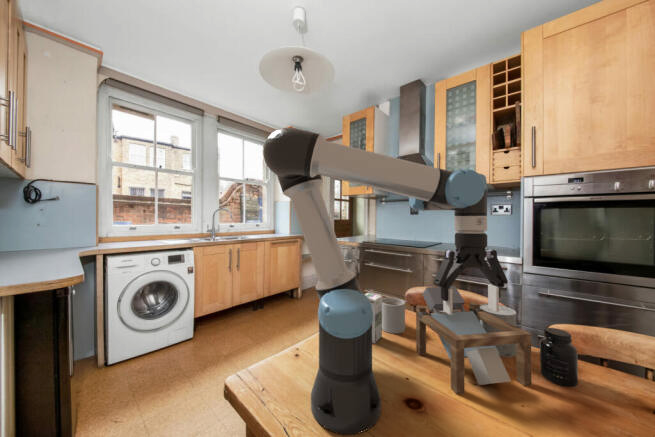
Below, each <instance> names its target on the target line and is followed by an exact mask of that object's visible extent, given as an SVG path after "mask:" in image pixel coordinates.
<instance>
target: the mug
mask: <svg viewBox="0 0 655 437" xmlns="http://www.w3.org/2000/svg"><path fill="white" fill-rule="evenodd" d="M382 331H384V332H386V333H389V334H396V335H397V334H402V333H404V332H405V331H406V301H404V300H403V299H400V298H399V297H398V298H397V297H384V298H383V297H382Z"/></svg>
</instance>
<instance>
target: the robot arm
mask: <svg viewBox="0 0 655 437" xmlns="http://www.w3.org/2000/svg"><path fill="white" fill-rule="evenodd" d="M262 153H263V159H264V162H265V164H266V166H267V167H268V169H269V170H270V171H271V172H272V173H274V175H276V177H277V179H278V183H279V185H280V188H281V189H280V190H281V191H282V195H283V196H285V197H287V198H289V199H290V201H291V203H292V206H293V209H294V212H295V215H296V218H297V221H298V224H299V227H300V230H301V233H302V236H303V239H304V242H305V244H306V247H307V250H308V253H309V256H310V259H311V262H312V265H313V268H314V270H315V273H316V276H317V282H316V284H315V290H316V291H315V292H316V293H317V297H318V299H319V303H318V304H319V305H318V308H317V317H318V369H317V372H316V376H315V379H314V382H313V385H312V389H311V393H310V394H311V395H310V409H311V413H312V415H313V417H314V419H315V420H316V421H317V423H318V424H319V425H321V426H322V425H323V426H325V427H326V428H328V429H330V430H332V431H331V432H333V431H335V432H334V433H336V432H337V433H336V434H340V433H341V434H340V435H356V434H355V433H357V434H360V433H359V432H361V431H364V430H366V429H368V428H370V427H371V426H372V427H373V426H375V424H377V422H378V420H380V419H379V418H380V416H381V412H382V410H381V409H382V406H381V405H382V401H381V393H380V390H379V388H378V384H377V381H376V377H375V374H374V372H373V343H372V321H373V311H372V305H371V302H370V300H369V298H368V297H367V296H366V295H365V293H363V291H362V290H361V287H360V285H359V282H358V279H357V276H356V274H355V272H354V271H352V270H349V269H348V266H347V263H346V261H345V258H344V255H343V253H342V249H341V246H340V244H339V240H338V238H337V235H336V232H335V229H334V226H333V224H332V221H331V218H330V214H329V212H328V208H327V206H326V203H325V200H324V197H323V194H322V191H321V186H322V184H323V178H322V177H327V178H331V179H335V180H340V181H344V182H347V183H351V184H356V185H358V186H359V185H360V186H364V187H368V188H372V189H376V190H378V191H384V192H388V193H392V194H396V195H400V196H405V197H408V201H409V202H408V203H409V206H410V207H411V209H412V210H414V211H423V212H424V211H454V231H456V232H455V233H454V246H455V251H454V250H448V249H445V251H444V255H443V260H442V261H441V265H440V266H439V268H438V271H437V273H436V276H435V277H434V280H433V284H434V285H435V286H436V287H441V299H442V300H443V313H448V314H449V315H453V312H454V310H453V304H452V289H450V286H453V284H454V283H455V281H456V280H457V278H458V277H459V276H460V274H461V273H462V272H463V270H465V269H466V268H478V269H479V270H480V271H481V273H482V274H483V275H484V276H485V278H486V279H487V281H488V282H489V283H490V284H488V285H487V300H488V301H487V302H488V303H487V304H488V308H489V309H492V310H494V311H496V312H499V305H500V298H501V296H502V295H501V288H505V285H507V284H508V283H509V280H508V279H507V276H506V274H505V272H504V269H503V268H502V265H501V263H500V261H499V258H498V252H497V250H496V249H488V248H487V247H488V234H487V233H486V232H487V231H488V182H487V176H486V175H485V174H483V173H479V172H477V171H475V170H473V169H467V168H465V169H458V170H455V171H452V170H447V169H443V168H438V167H434V166H431V165H425V164H422V163H418V162H413V161H410V160H406V159H402V158H398V157H394V156H389V155H385V154H381V153H377V152H374V151H370V150H365V149H361V148H357V147H353V146H349V145H345V144H341V143H338V142H337V143H336V142H332V141H329V140H326V138H325V137H324V135H323V134H321V133H316V132H313V131H309V130H304V129H301V128H294V127H283V128H280V129H277V130H275V131H273V132H272V133H271V134H269V136H268V137H267V139H266V140H265V142H264V145H263V151H262ZM486 248H487V249H486ZM486 260H487V261H486ZM323 426H322V427H323ZM325 427H324V428H325ZM372 427H371V428H372ZM326 428H325V429H326ZM371 428H370V429H371ZM328 429H327V430H328ZM330 430H329V431H330ZM368 430H369V429H368ZM366 431H367V430H366ZM364 432H365V431H364ZM361 433H362V432H361Z"/></svg>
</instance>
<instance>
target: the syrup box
mask: <svg viewBox="0 0 655 437" xmlns="http://www.w3.org/2000/svg"><path fill="white" fill-rule="evenodd" d="M364 295H366V296H367V297H368V298H369V300H370V302H371V305H372V311H373V321H372V344H377V342H378V341H379V340H380V339H381V338H382V336H383V334H382V332H383V330H382V299H383V296H382V295H380V294H377V293H373V292H372V293H371V292H367V293H364Z"/></svg>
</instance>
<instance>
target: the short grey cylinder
mask: <svg viewBox="0 0 655 437" xmlns="http://www.w3.org/2000/svg"><path fill="white" fill-rule="evenodd" d="M480 308H481V309H483V311H484V312H486V313H488V314H490V315H492V316H495V317H497V318H499V319H501V320H503V321H505V322H507V323H509V324H511V325H513V326H516V327H517V312H516V310H515V309H513V308H510V307H507V306H505V305H500V304H499V312H496V311H494V310H492V309H489V308H488V303H480ZM480 323H481V325H482V326H483V328H484V329H485V331H486V333H494V332H503V331H501V330H499V329H497V328H495V327H493V326H491V325H489V324H488V323H486V322H484V321H482V320H480ZM495 347H496V348H497V350H498V351H499V356H500V357H503V358H513V357H516V344H505V345H495Z"/></svg>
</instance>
